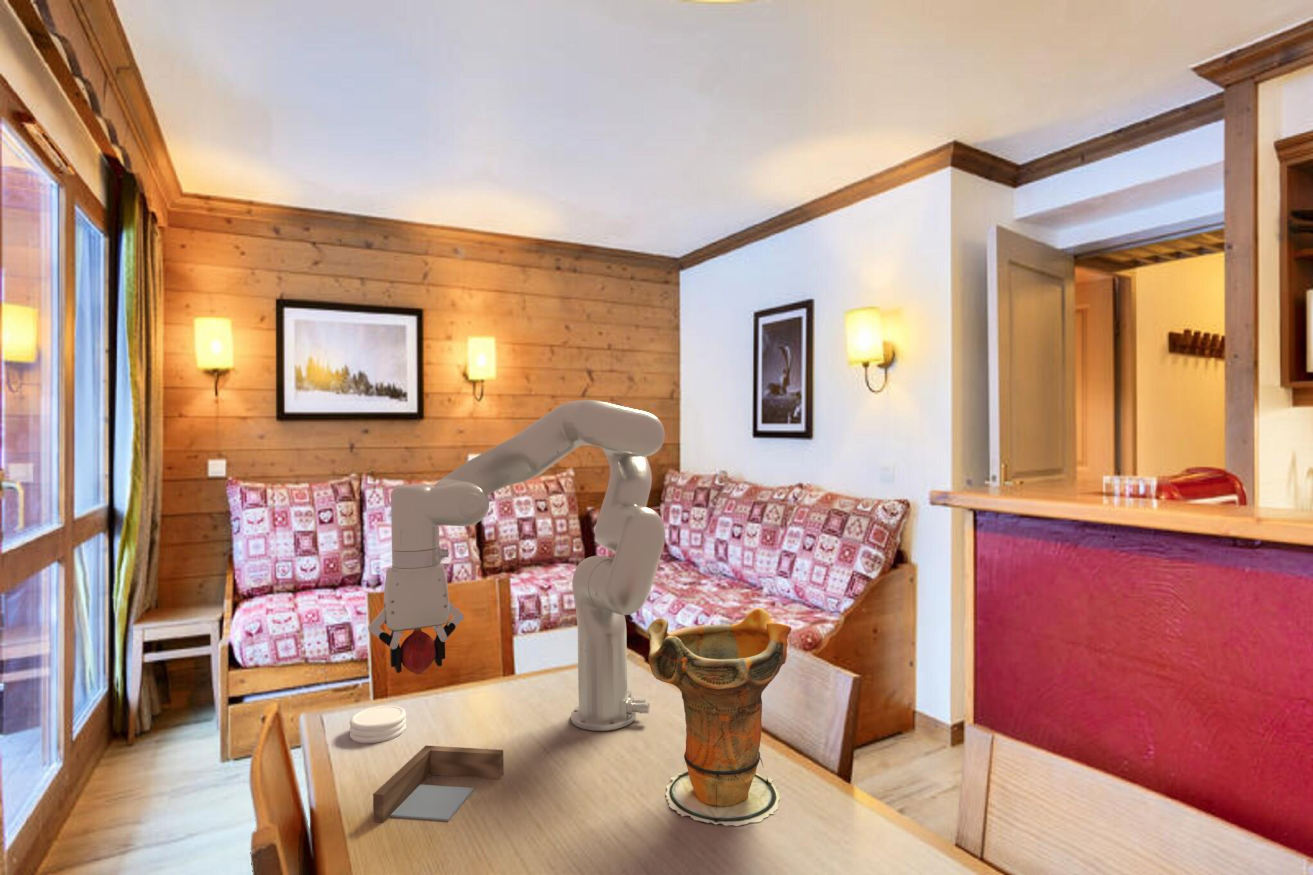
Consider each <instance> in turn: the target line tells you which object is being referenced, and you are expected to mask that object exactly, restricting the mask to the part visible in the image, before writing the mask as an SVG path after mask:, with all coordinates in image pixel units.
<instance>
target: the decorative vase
mask: <svg viewBox="0 0 1313 875" xmlns="http://www.w3.org/2000/svg"><path fill="white" fill-rule="evenodd" d="M668 629H669V622H668V619H665V618H663V617H660V618H656V619H655V620H653V621H652V622H651V623H650V624H649V625H648V628H647V629H646V630H647V634H648V637H649V653H648V664H649V667H650V671H651V674H652V675H653V676H654V678H655V679H656V680H658V681H660V682H663V683H667V684H670V685H673V686H675V687H676V688H677V689H679V691H680V692H681V698H682V700H683V709H684V714H685V733H686V736H685V751H684V753H683V758H684V763H683V764H686V768H687V771H685V772H679V773H677V774H676V775H675V776H671V777H670V780H672V781H671V782H670V783H669V784H667V785H666V786H665V787H666V792H665V793H664V794H665V800H667V803H668V807H670V809H672V810H675V811H676V812H677V813H676V814H679V815H680V817H685V816H688V817H689V816H690V819H693V820H694V821H699V822H704V823H706V824H710V823H711V824H714V825H718V824H721V825H723V826H724V827H727V826H735V827H739V826H742V825H748V824H750V823H761V822H762V821H763V820H764V819H766V818H768V817H770V816H769V815H775V813H774V812H776V811H777V810H779V801H780V800H781V797H780V794H779V793H780V792H779V790H778V789H777V788H778V786H777V785H775V784H774V783H773V781H774V779H773V778H770V777H767V776H763V775H761V774H759V773H758V772H757V768H758V766H759V763H760V762H761V765H762V768H763V769H764V768H765V767H764V765H763V760H762V757H761V753H760V748H761V746H760V745H761V740H762V730H763V729H762V723H763V722H762V717H763V716H762V715H763V700H762V699H763V698H762V694H763V692H764V691H765V689H766V688H767V687H768V686H769V685H770V684H771V682H772V681H773V680H774V679H775V677H776V676H777V675H778V674H779V672H780V670H781V668H782V666H783V665H785V663H786V662H787V657H788V653H787V652H788V646H789V644H788V643H789V642H788V636H789V634H791V631H792V626H790V625H789V624H788V625H787V624H784V623H781V622H779V623H778V622H774V621H773V620H772V618H771V616H770V615H769V613H768V611H767V610H766V609H764V608H761V607H756V608H754V609H753V610H751V611H750V612H749V613H747V615H746V616H745V617H744V618H743V620H742V621H740V622H736V623H734V624H733V623H732V624H702V625H701V624H700V625H693V626H687V627H681V628H678V629H675V630H673V631H670V632H668Z"/></svg>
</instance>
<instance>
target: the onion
mask: <svg viewBox="0 0 1313 875" xmlns="http://www.w3.org/2000/svg"><path fill="white" fill-rule="evenodd" d="M400 648H401V665H402V666H403V667H404V668H405V669H406V670H408V671H409V672H411V673H413V674H415V675H417V676H418V675H421V674H423V672H424V671H426V670H427V669H428V668H429V667H430V666H431V665H432V664H433V662H435V661H434V659H435V657H436V645H435V643H434V640H433V638H432V636H430V635H429V634H428V633H426V632H424V631H423V630H422V628H419V629H413V631H412V633H411V634H409V635H407V637H406V638H405V639H404V640H403V642H402V643H401V645H400Z"/></svg>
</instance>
